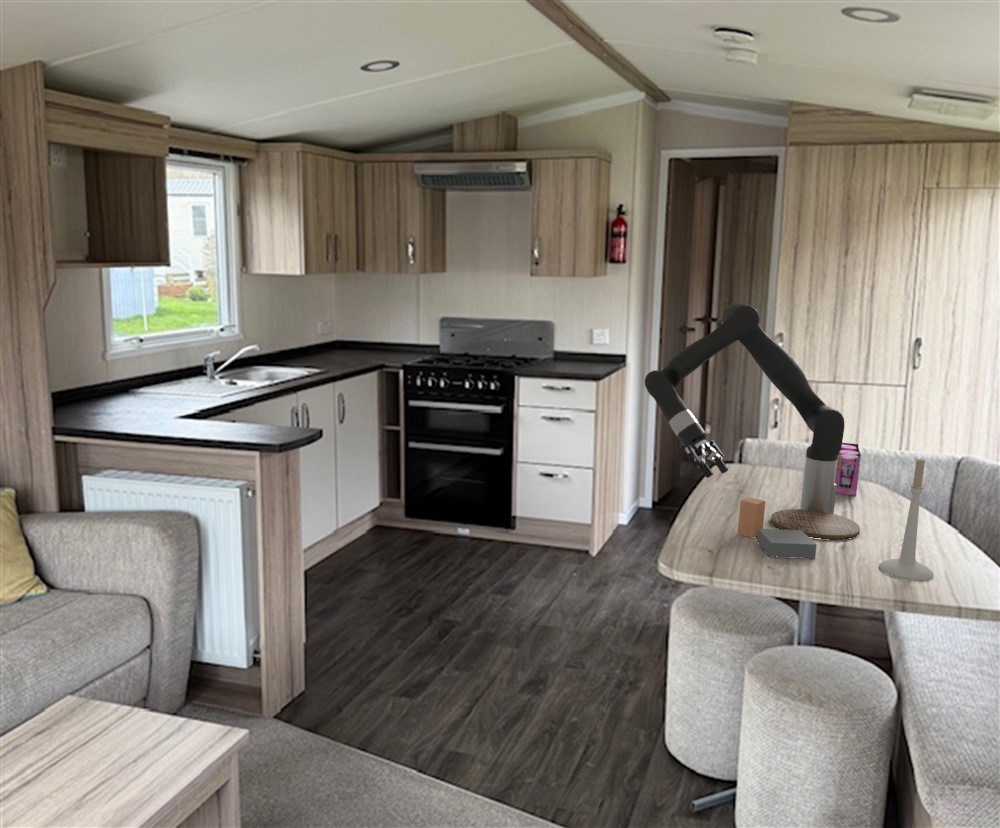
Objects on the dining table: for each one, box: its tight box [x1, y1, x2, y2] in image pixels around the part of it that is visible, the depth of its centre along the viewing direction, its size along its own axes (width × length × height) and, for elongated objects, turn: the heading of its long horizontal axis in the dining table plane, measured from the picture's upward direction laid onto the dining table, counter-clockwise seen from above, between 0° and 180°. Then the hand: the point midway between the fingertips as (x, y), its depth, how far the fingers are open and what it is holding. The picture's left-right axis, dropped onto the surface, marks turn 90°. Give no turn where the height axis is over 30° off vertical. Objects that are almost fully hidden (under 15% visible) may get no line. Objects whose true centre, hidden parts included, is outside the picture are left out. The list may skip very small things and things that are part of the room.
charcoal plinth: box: [756, 528, 818, 559], centre depth 245 cm, size 12×12×4 cm
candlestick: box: [878, 458, 934, 582], centre depth 230 cm, size 13×13×30 cm
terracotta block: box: [737, 496, 766, 539], centre depth 257 cm, size 5×5×10 cm
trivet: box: [770, 508, 861, 541], centre depth 268 cm, size 25×25×2 cm
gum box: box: [835, 442, 862, 497], centre depth 314 cm, size 24×8×14 cm, turn 161°
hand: (718, 474), depth 263 cm, fingers open, 8 cm apart
